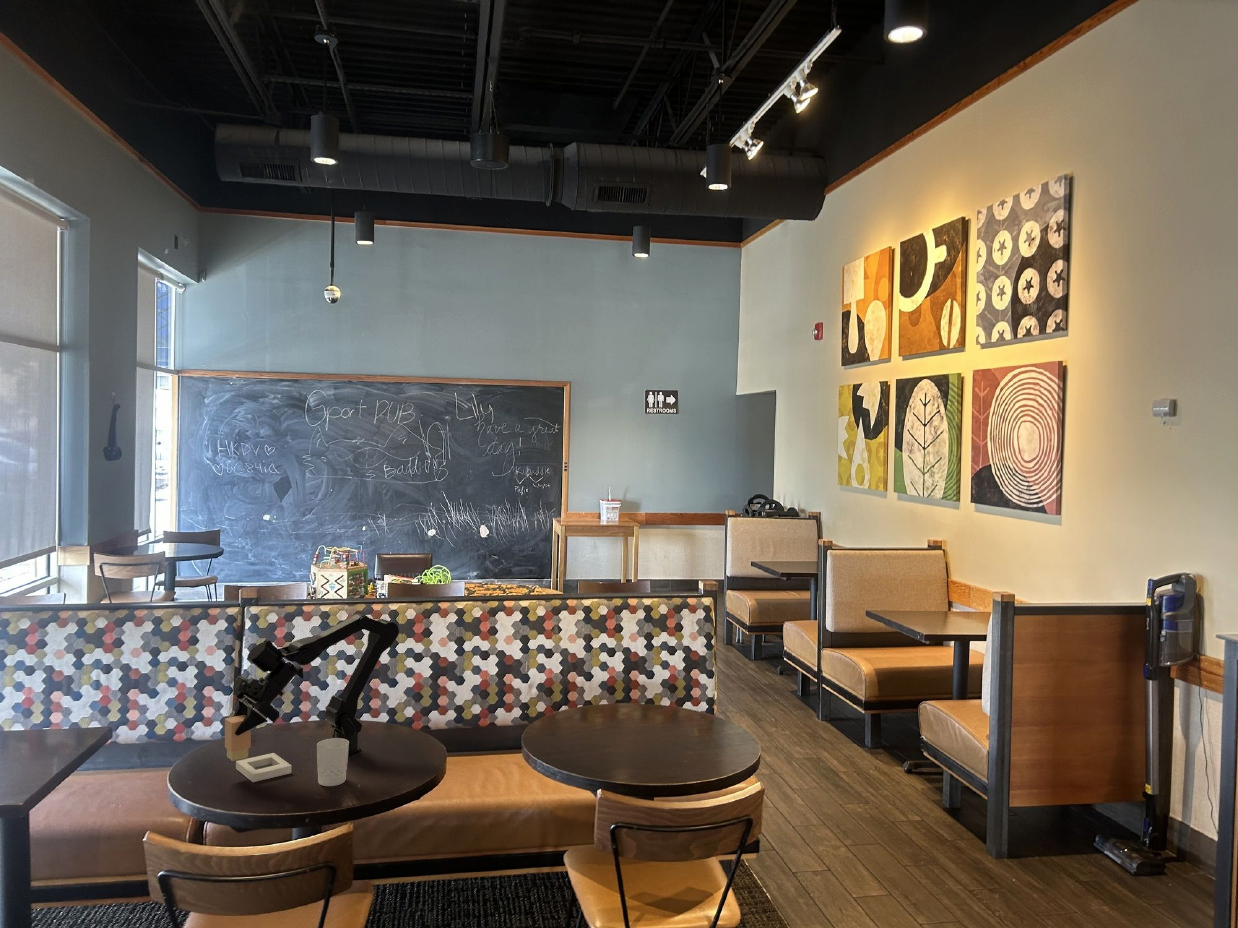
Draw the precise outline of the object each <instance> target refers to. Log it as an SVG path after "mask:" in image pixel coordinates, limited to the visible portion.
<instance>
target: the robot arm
mask: <svg viewBox="0 0 1238 928" xmlns="http://www.w3.org/2000/svg"><path fill="white" fill-rule="evenodd" d="M363 630H365V631H367V632H368V635H367V645H366V648H365V650H364V651H363V653H362V655H361V657H360V659H359V661H358V662H357V665H356V666H355V668H354V670H353V671H352V674H351V675H350V678H349V680H348V681H347V683H346V685H345V687H344V689H343V690H342V692H341V693H340V694H339V695H337V696H336V695H333V694H332V696H331V697H330V700H329V702H328V704H327V705H326V706H325V707H324V709H325V713H324V717H325V720H326V722H328V723H329V724H330V726H331V728H332V729H333V732H332V733H333V734H332V738H342V739H346V740H348V741H349V749H348V757H349V756H350V755H353V754H355V753H357V752H360V751H362V747H358V745H359V743H358V741H359V733H360V732H361V730H362V727H363V724H362V723H361V722H360V721H359V720H357V718H356V715H357V713H358V712H357V711H358V706H359V703H358V702H359V699H360V697H361V695H362V693H363V691H364V689H365V687H366V685H367V683H368V681H369V679H370V678H371V675H372V673H373V671H374V670H375V668H376V666H377V664H378V662H379V660H380V658H381V657H382V655H383V654H384V652H386V651H387V650H388V649H390V647H391V646H392V645H393V644H394V643H395V641H396V640H397V638H398V637H399V634H400V629H399V626H398V625H397V623H395V622H393V621H390V620H387V619H384V618H379V619H374V618H371V617H369V616H367V615H365V614H363V613H355V614H354V615H353V616H351V617H350V618H348V619H345V620H344V621H342V622H340V623H338V624H336V625H334V626H332V627H330V628H328V629H326V630H325V631H324V630H323V631H322V632H320V633H318V634H316V635H313V636H311V635H310V636H307V637H302V638H300V639H299V638H298V639H296V640H293V641H292V642H291V643H289V644H288V645H287V646H284V647H283V646H282V647H280V648H278V647H276V646H275V645H274V644H273V642H272V641H270V640H269V639H264V641H263V642H259V643H258V644H257V645H255V646H253V647H252V649H250V651H249V653H248V654H247V660H248V661H249V662H250V663H251V664H253V665H254V667H257V668H258V669H259V670H260V671H261V672H262V673H267V672H269V673H268V674H267V675H266V676H265V677H259V678H258V679H255V678H253V677H250V678H247V677H243V676H240V675H238V676H237V678H236V680H235V681H234V684H233V686H232V688H233V689H235V691H234V692H233V693H232V695H233V696H235V697H236V698H235V702H236V709H235V711H234V713H233V716H232V717H235V716H240V715H245V716H246V717H245V718H244V720H243V721H242V723H241V724H240V726H239V727H238V728H237V730H236V732H235V735H237V736H239V735H241V734H242V733H244V732H246V731H248V730H250V729H251V730H252V729H254V728H256V727H258V726H260V725H262V724H264V723H268V722H269V721H270V722H272V723H273V724H275V723H276V722H277V721H278V719H279V718H280V711H279V710H277V709H276V708H275V707H274V706H273V705H272V703H273V702H275V700H276V699H277V698H278V696H280V697H283V695H284V692H283V691H284V689H286V687H287V686H288V685H289V683H290V682H291V681H292V680H293V679H294V678H295V676H296V677H297V678H300V679H304V668H303V667H302V666H307V665H309V664H311V663H313V662H314V661H315V660H317V658H319V657H320V656H321V655H322V653H323V652H324V651H326V650H327V649H328V648H330V647H332V646H334V645H336V644H337V643H340V642H342V641H343V640H346V639H347V638H349V637H352V636H353V635H355V634H357V633H359V632H360V631H363ZM283 659H284V660H285V661H287V662H285V661H284V660H283ZM292 662H293V663H292ZM294 663H296V664H297V665H300V666H298V667H297V666H296V665H295V664H294ZM267 719H268V720H267Z"/></svg>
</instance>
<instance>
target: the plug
mask: <svg viewBox="0 0 1238 928" xmlns="http://www.w3.org/2000/svg"><path fill="white" fill-rule="evenodd" d="M245 717H246V716H245V715H240V716H235V717H233V716H231V717H230V716H229V717H226V718H224V748H225V749H226V758H228V759H229V760H231V761H232V762H234V761H235V762H236V761H239V760H244V759H248V758H249V749H251V747H252V746H251V742H252V741H251V738H252V736H251V735H252V734H251V730H252V729H250V730H248V731H246V732H244V733H242V734H241V735H239V736H237V735H235V732H236V730H237V728H238V727H239V726H240V724H241V723H242V721H243V720H244V718H245Z"/></svg>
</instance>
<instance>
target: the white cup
mask: <svg viewBox="0 0 1238 928" xmlns="http://www.w3.org/2000/svg"><path fill="white" fill-rule="evenodd" d="M348 749H349V741H348V740H346V739H342V738H333V737H331V738H326V739H325V738H324V739H322V740H320V741H319V742H317V744H316V760H317V761H316V765H317V783H318V785H320V786H324V787H335V786H336V787H337V786H339V785H341V784H343V783H345V782H346V780H347V779H346V778H347V771H348V770H347V769H348V761H349V759H348V758H349V756H348Z"/></svg>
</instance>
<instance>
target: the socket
mask: <svg viewBox="0 0 1238 928" xmlns="http://www.w3.org/2000/svg"><path fill="white" fill-rule="evenodd" d="M235 769H236V770H237V771H238V772H240V773H241V774H242V775H243V776H245V778H247V779H248V780H249V781H251V782H252V783H256V782H259V781H264V780H268V779H272V778H276V777H280V776H285V775H289V774H292V764H291V763H289V762H287V761H286V760H284V759H283V758H281V757H280V756H279V755H278V754H276V753H275V752H272V753H267V754H263V755H258V756H253V757H247V758H243V759H239V760H235Z"/></svg>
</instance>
